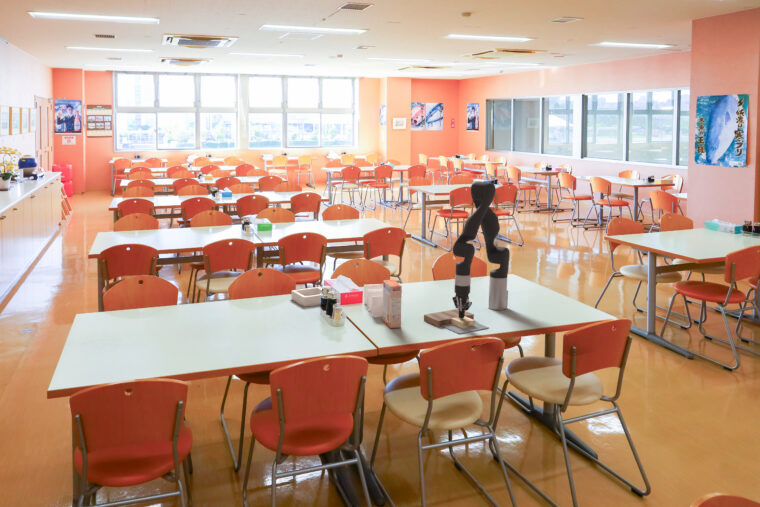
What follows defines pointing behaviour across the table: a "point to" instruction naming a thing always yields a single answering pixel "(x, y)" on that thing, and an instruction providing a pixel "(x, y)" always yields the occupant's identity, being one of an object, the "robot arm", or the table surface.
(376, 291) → the storage container
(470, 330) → the rubber mat
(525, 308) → the table surface
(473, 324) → the maple tile
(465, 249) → the robot arm
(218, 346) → the table surface
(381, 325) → the table surface
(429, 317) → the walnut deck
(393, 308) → the cracker box
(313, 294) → the holder corral
